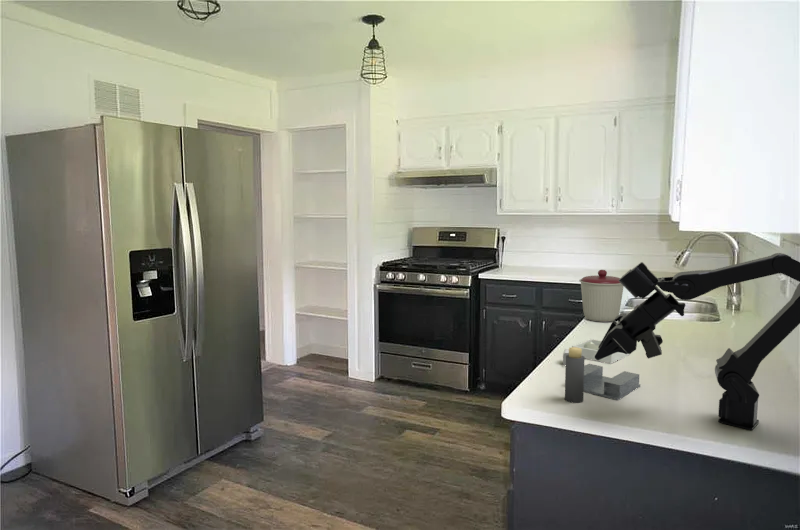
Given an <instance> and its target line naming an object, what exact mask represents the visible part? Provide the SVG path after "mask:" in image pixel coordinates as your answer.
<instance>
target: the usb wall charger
mask: <svg viewBox="0 0 800 530" xmlns="http://www.w3.org/2000/svg"><path fill="white" fill-rule="evenodd" d="M566 355H569V348H564V351H563V354H562V365H563V366H565V365H566Z"/></svg>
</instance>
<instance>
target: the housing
mask: <svg viewBox="0 0 800 530" xmlns="http://www.w3.org/2000/svg"><path fill="white" fill-rule="evenodd" d="M603 370H604V367H603V366H601V365H597V364H592V363H587V364H584V391H583V393H587V392H588V393H587V394H592V395H595V394H596V395H595V396H600V397H603V398H607V399H610V398H612V399H611V400H614V399H615V401H619V400H621V399H623V398H624V397H626V396H628V395H629V394H631V393H632V392H634V391H635V389H636V388H637V389H639V388H641V384H640V374H639V373H634V372H629V371H625V370H624V371H622V372H620V373H618V374H616V375H614V376H613V377H609V376H604V375H603V374H604V373H603V372H604V371H603ZM638 387H639V388H638ZM637 389H636V390H637ZM633 390H634V391H633ZM630 392H631V393H630ZM625 395H626V396H625ZM620 398H621V399H620ZM618 399H619V400H618Z"/></svg>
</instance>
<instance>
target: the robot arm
mask: <svg viewBox="0 0 800 530" xmlns="http://www.w3.org/2000/svg"><path fill="white" fill-rule="evenodd" d="M778 274H783V275H785V276H787V277H788V278H791V279H793V280H794V281H797V282H798V284H797V286H796V287H795V290H794V292H793V293H792V296H791V298H790V300H789V301H788V302H787V303H786V304H785V305H784V306H782V307H781V309H780V310H779V311H777V313H776V314H774V316H773V317H771V319H770V320H769V321H768V322H767V323H766V324H765V325H764V326H763V327H762V328H761V329H760V330H759V331H758V332H757V333H756V334H755V335H754V336H753V337H752V338H751V339H750V340H749V341H748V342H747V343H746V344H745V345H744V346H743V347H742V348H739V349H738V350H735V351H733V350H732V349H731V348H730V347H728V348H727V350H725V352H724V353H723V355H721V357H719V358H717V359H716V364H715V366H714V374H715V378H716V381H717V383H718V385H719V387H720V388H721V389H723V390H725V391H723V393H722V395H721V396H722V397H720V399H718V413H717V414H718V415H717V416H718V418H719V419H718V423H721V424H725V425H729V426H733V427H736V428H740V429H745V430H748V431H752V430H754V429H755V427H756V426H757V425H759V423H760V420H759V419H758V408H759V398H760V394H759V391H758V390H757V388H756V386H755V384H754V382H753V381H752V379H753V378H754V376H755V374H756V372H757V370H758V368H759V366H760V364H761V363H762V361H763V360H764V359H765V358H766V357H767V356H769V354H771V353H772V351H774V350H775V348H777V347H778V346H779V344H780V343H782V342H783V340H785V339H786V338H787V337H788V336H789V335H790V334H791V333H792V332H793V331H795V329H796V328H797V327H798V326H799V325H800V261H798V260H796V259H793V258H792V257H791V256H789V255H788V254H786V253H782V252H775V253H773V254H771V255H768V256H763V257H760V258H756V259H752V260H748V261H743V262H738V263H735V264H731V265H727V266H724V267H720V268H715V269H704V270H703V269H701V270H700V269H699V270H698V269H697V270H689V271H688V270H687V271H686V270H685V271H680V272H678V273H675V274H674V275H673V276H665V277H664V276H662V277H657V276H656V275H655V274H654V273H653V272H652V271H651V270H650V269H649V268H648V267H647V265H646V264H645V263H644V262H643V261H641V262H640V263H638V264H637V265H636V266H634V267H633V268H632V269H631V268H630V269H629V270H628V271H626V272H625V274H623V275H622V276H621V277H619V278H620V279H619V280H618V281H619V282H620V283H621V284H622V285H623V286H624V287H623V288H625V289H626V290H627V291H628V292H629V293H630V294H631V295H632V296H633V297H634V298H635V299H636V298H640V299H642V300H643V299H645V298H646V299H645V300H643V301H642V302H641V303H640V304H637V305H635V306H634V308H633V310H631V311H630V312H628V314H627V313H619V315H618V316H617V317H616V318H615V319H614V320H615V321H614V320H613V321H611V323H610V325H609V327H608V330H607V331H606V333H605V335H604V336H603V338H602V340H601V341H602V342H601V343H600V345H599V347H598V348H599V350H598V351H597V353H596V355H595V359H596V360H600V359H602V358H605V357H607V356H609V355H612V354H614V353H616V352H621V353H624V354H629V355H631V354H632V353H634V352H635V351H637V345H638V343H640V342H641V344H642V347H643V350H644V351H645V355H646V359H651V358H655V357H658V356H661V355H662V354H663V352H662V346H661V345H662V344H663V341H664V340H663V339H662V336H661V335H660V334H655V332H654V331H656V328H657V327H656V325H658V324H659V323H661V322H662V321H663V320H664V319H666V318H668V316H669V315H671V314H672V313H674V312H676V313H678V315H679V316H681V317H684V316H685V307H686V303H685V302H680V301H678V299H679V300H682V301H689V300H690V301H691V300H693V299H695V298H698V297H701V296H703V295H706V294H708V293H709V292H711V291H714V290H716V289H718V288H721V287H725V286H729V285H733V284H734V285H735V284H737V283H738V284H739V283H743V282H748V281H750V280H755V279H760V278H765V277H769V276H770V277H771V276H774V275H778ZM654 291H655V292H654ZM653 292H654V293H653ZM664 292H666V293H668V294H665V293H664ZM650 294H651V295H650ZM672 294H673V295H674V296H675V297H674V296H673V295H672ZM649 295H650V296H649ZM676 298H677V299H676ZM637 342H638V343H637Z"/></svg>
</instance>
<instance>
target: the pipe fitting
mask: <svg viewBox="0 0 800 530" xmlns="http://www.w3.org/2000/svg"><path fill="white" fill-rule="evenodd" d="M598 347H599V345H595V344H594V343H592V342H591V341H590V342H587V343H585V346H584V348H588V349H593V350H599V348H598Z"/></svg>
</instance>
